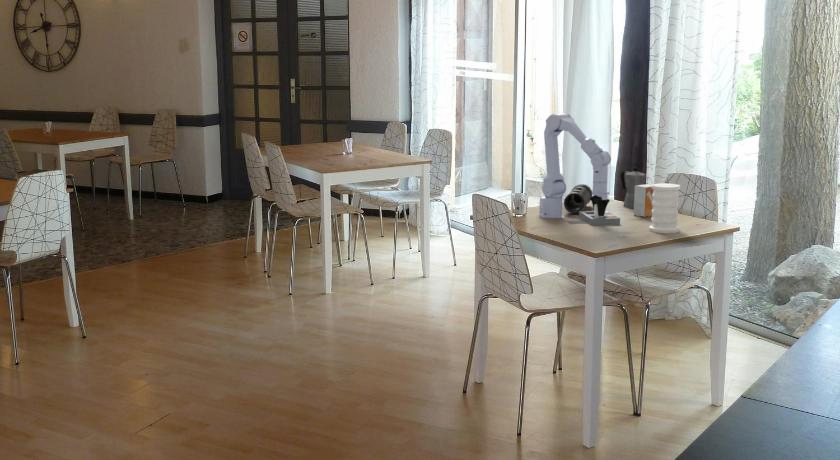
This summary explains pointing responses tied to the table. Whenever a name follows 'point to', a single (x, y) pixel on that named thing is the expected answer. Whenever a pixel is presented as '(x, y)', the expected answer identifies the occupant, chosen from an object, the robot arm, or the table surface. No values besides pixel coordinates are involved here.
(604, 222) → the socket board
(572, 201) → the muzzle brake
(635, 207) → the small box
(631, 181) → the coffeepot
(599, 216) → the plug
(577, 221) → the plug mat
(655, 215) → the decorative container
